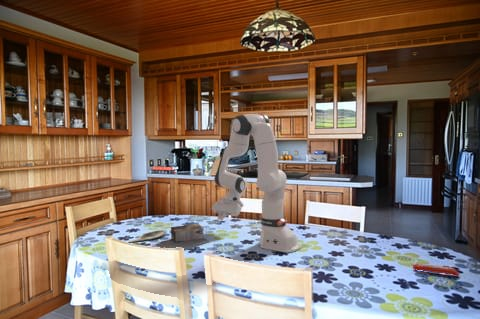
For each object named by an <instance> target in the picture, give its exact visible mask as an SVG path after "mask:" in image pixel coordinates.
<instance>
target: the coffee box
mask: <svg viewBox="0 0 480 319" xmlns="http://www.w3.org/2000/svg"><path fill="white" fill-rule="evenodd" d="M170 233H171V236H170V237H171V240H173V241H174V242H181V241H188V240H195V239H204V226H202V225H200V223H194V224H185V225H178V226H177V225H176V226H171V227H170Z"/></svg>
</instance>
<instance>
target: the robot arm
mask: <svg viewBox="0 0 480 319" xmlns="http://www.w3.org/2000/svg"><path fill="white" fill-rule="evenodd" d="M270 123H271V122H270V119H269V117H268V116H267V115H265V114H264V113H263V114H262V113H246V114H239V115H236V116H234V117H233V120H232V122H231V126H232V128H231V131H230V136H229V142H228V145H227V146H224V149H223V150H222V152H221V156H220V160H219V164H218V167H217V171H216V173H215V175H214V179H213V180H214V182H215V184H216V186H217V187H222V188H226V189H228V190H229V191H227V193H226V195H225V196H224V197H223V198H220V199H218V200H217V201H215V203H214V204H213V205H212V207H211V210H212V212H213V213H216V214H218V217H217V220H218V221H219V220H220V221H223V220H224V219H225V218H226V217H227V216H233V217H238V216H239V215H240V214H241V211H242V209H243V207H244V206H245V205H244V203H243V202H242V200H241V197H242V196H243V195H244V193H245V191H246V189H247V187H248V180H247V179H246V178H244V177H242V176H241V175H239V174H235V173H233V172H229V171H227V168H228V163H229V160H230V158H237V157H241V156H243V155H245V154H246V153H247V152H248V149H249V143H250V136H252V137H253V141H254V142H253V143H254V147H255V153H256V158H257V160H256V161H257V178H256V185H257V189H259V190H260V191H261V192H263V197H262V200H261V217H260V224H261V229H260V230H261V231H260V238H259V241H258V245H260V246H259V248H261V249H264V250H270V251H276V252H279V253H280V252H282V253H289V254H290V253H293V252H296V251H298V250H300V249H302V247H303V246H302V244H301V243H299V242H298V237H297V235H296V233H295V232H294V231H293V230H292V229H291V228H289V227H288V225H287V222H288V221H289V220H288V219H285V217H284V199H285V193H286V192H285V191H286V183H287V180H288V179H287V175H286V173H285V172H284V171H283V170H281V169H279V153H278V146H277V141H276V135H275V134H274V130H273V128H272V125H271V124H270Z"/></svg>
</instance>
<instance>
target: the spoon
mask: <svg viewBox="0 0 480 319" xmlns="http://www.w3.org/2000/svg"><path fill="white" fill-rule="evenodd" d="M166 234H167V230H165V229H161V230H160V229H159V230H153V231H150V232H146V233H144V234H142V235H140V236H139V237H137V238H135V239H132V240H129V241H128V242H130V243H129V244H131V243H135V242H140V241H150V240H153V239H156V238H160V237H162V236H164V235H166Z"/></svg>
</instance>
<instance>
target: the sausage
mask: <svg viewBox="0 0 480 319" xmlns="http://www.w3.org/2000/svg"><path fill="white" fill-rule="evenodd" d="M412 269H417V270H423V271H430V272H437V273H445V274H453V275H459V276H460V273H459V272H458V271H457V270H456V269H455V268H454V267H450V266H441V265H434V264H429V263H428V264H427V263H419V262H418V263H415V264H412Z"/></svg>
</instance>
